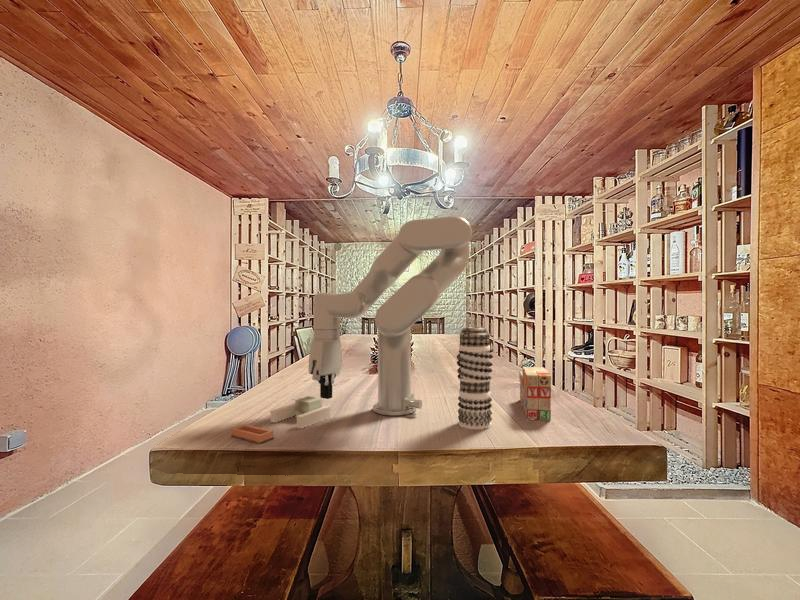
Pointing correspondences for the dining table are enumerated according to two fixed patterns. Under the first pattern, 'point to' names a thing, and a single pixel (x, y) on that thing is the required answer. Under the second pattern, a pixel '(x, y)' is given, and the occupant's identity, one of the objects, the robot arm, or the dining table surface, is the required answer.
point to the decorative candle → (474, 378)
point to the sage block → (307, 405)
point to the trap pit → (252, 434)
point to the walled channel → (302, 419)
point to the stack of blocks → (535, 392)
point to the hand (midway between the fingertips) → (326, 397)
